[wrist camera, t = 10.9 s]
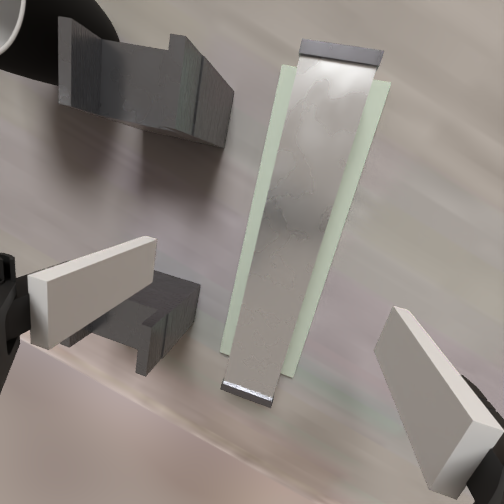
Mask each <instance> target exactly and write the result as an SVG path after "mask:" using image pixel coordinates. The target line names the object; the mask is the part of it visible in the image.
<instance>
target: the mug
mask: <svg viewBox="0 0 504 504" xmlns="http://www.w3.org/2000/svg"><path fill="white" fill-rule="evenodd" d="M58 16H60V17H67V18H72V19H73V20H75V21H76V22H78V23H79V24H81V25H82V26H84V27H85V28H87V29H88V30H89V31H91V32H92V33H94V34H95V35H97V36H98V37H100V38H101V39H104V40H109V41H115V42H119V38H118V35H117V33H116V31H115V29H114V27H113V25H112V23H111V21H110V20H109V18H108V17H107V15H106V14H105V12H104V11H103V10H102V9H101V7H100V6H99V5H98V3H97V2H96V1H95V0H0V69H1V70H4V71H7V72H10V73H14V74H17V75H20V76H24V77H27V78H30V79H34V80H37V81H41V82H45V83H49V84H52V85H57V86H59V78H58Z"/></svg>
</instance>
